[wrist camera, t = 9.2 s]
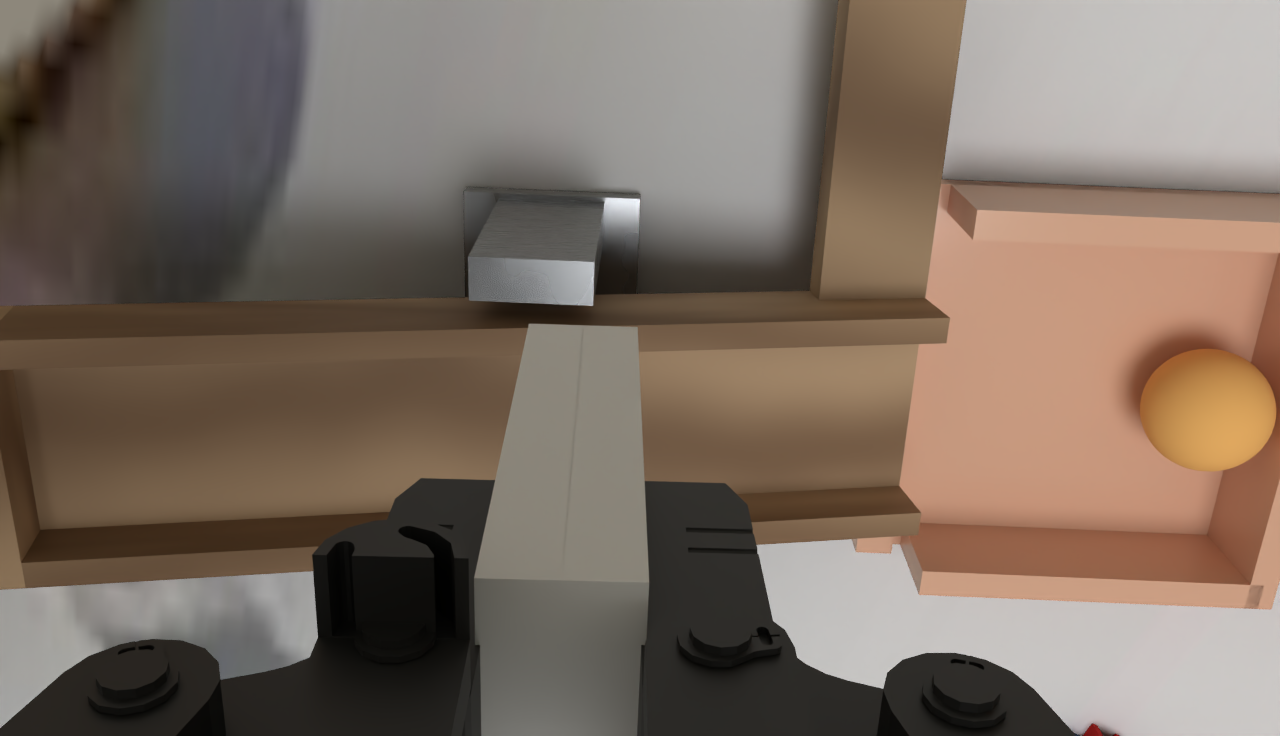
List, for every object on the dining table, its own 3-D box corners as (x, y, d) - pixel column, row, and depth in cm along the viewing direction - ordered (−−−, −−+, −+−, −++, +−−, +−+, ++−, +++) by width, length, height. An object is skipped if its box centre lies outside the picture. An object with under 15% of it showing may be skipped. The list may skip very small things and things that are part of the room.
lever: (873, 489, 35) (916, 544, 32) (32, 532, 31) (-9, 600, 28) (939, -19, 30) (998, -8, 27) (-71, -50, 26) (-135, -42, 23)
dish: (1218, 548, 38) (1271, 609, 34) (849, 532, 38) (868, 592, 34) (1309, 195, 33) (1380, 227, 30) (893, 177, 33) (919, 207, 30)
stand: (627, 501, 37) (622, 615, 31) (471, 494, 37) (436, 608, 31) (640, 193, 34) (637, 257, 28) (466, 186, 34) (425, 248, 28)
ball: (1276, 467, 34) (1235, 506, 32) (1156, 429, 36) (1109, 462, 34) (1307, 355, 33) (1266, 387, 30) (1180, 322, 35) (1133, 350, 33)
